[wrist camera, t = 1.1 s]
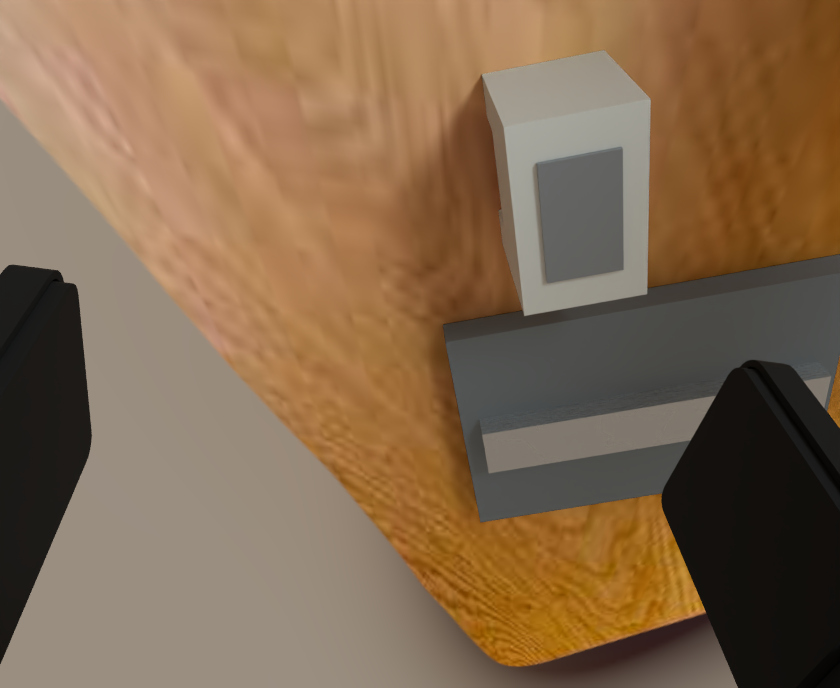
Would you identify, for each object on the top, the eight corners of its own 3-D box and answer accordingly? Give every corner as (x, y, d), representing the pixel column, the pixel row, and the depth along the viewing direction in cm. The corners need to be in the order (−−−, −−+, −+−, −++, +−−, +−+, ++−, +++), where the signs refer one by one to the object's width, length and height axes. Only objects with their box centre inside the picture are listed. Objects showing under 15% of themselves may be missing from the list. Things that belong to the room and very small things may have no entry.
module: (604, 50, 29) (652, 100, 24) (607, 224, 34) (648, 296, 29) (481, 74, 29) (504, 129, 24) (502, 244, 34) (525, 318, 29)
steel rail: (819, 361, 38) (831, 376, 37) (810, 403, 40) (821, 418, 39) (479, 419, 39) (482, 434, 38) (486, 457, 41) (488, 473, 40)
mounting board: (842, 253, 36) (858, 269, 34) (801, 450, 44) (813, 468, 43) (442, 324, 37) (445, 342, 36) (477, 503, 45) (480, 522, 44)
